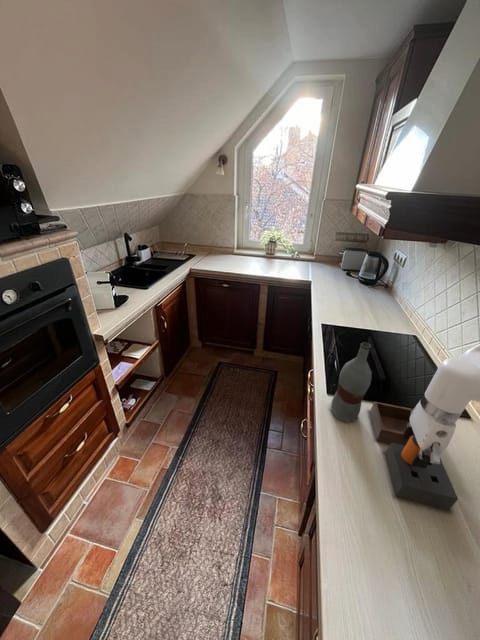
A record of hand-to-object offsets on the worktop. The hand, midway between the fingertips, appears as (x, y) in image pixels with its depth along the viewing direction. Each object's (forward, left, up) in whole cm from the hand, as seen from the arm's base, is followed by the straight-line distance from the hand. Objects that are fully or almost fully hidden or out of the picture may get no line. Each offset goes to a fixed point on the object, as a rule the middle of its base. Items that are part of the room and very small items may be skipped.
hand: (413, 451), depth 69 cm
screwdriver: (0, 0, -9) cm, 9 cm away
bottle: (+15, -17, -9) cm, 24 cm away
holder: (-2, +2, -9) cm, 10 cm away
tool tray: (-2, -14, -9) cm, 17 cm away
